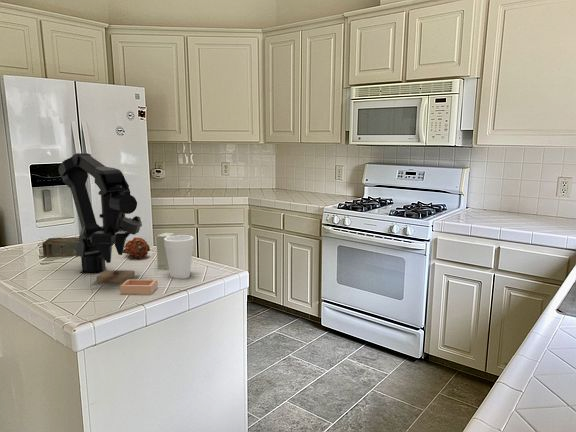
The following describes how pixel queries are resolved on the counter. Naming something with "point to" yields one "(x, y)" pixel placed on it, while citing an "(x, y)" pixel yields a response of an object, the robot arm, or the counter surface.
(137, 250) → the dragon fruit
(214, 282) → the counter surface
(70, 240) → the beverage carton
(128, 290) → the dish
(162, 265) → the skincare box
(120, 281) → the lid
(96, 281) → the mat
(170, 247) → the foam cup
